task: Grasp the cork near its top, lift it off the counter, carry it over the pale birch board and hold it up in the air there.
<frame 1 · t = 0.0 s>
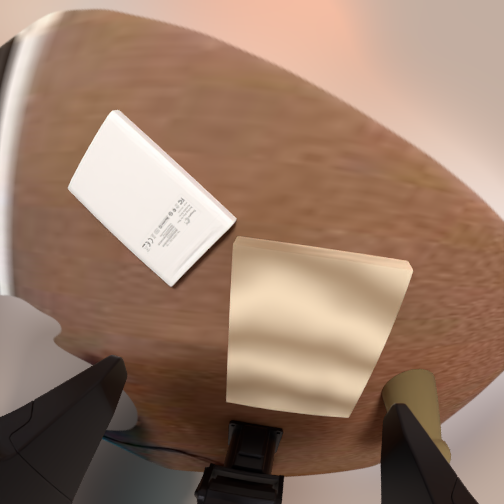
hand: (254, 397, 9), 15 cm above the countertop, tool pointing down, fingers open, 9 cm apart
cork: (408, 386, 27), on the countertop
birch board: (305, 341, 26), on the countertop
external hard drive: (148, 197, 24), on the countertop
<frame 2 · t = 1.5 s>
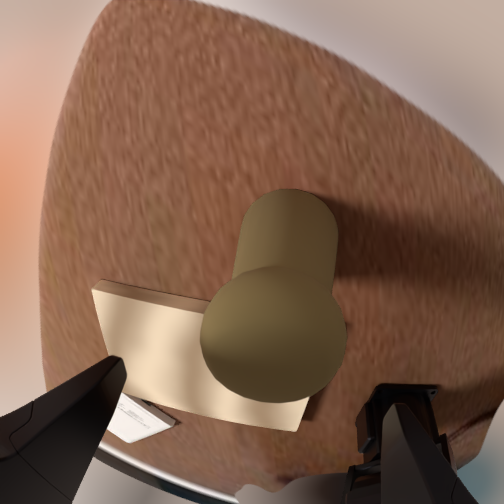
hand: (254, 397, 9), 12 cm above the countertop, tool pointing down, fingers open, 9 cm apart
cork: (289, 235, 19), on the countertop
birch board: (205, 361, 25), on the countertop
external hard drive: (127, 410, 33), on the countertop
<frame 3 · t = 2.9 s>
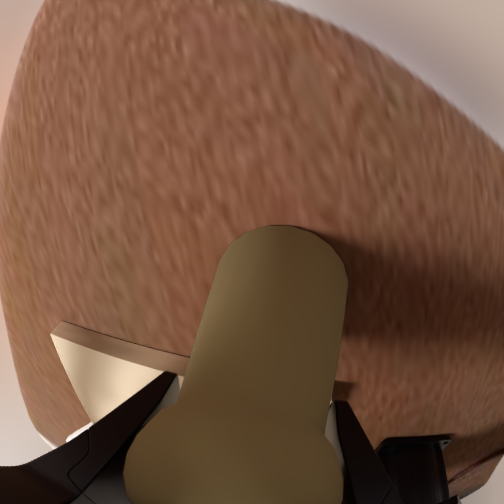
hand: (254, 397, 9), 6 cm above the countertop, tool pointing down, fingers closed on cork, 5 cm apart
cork: (281, 286, 14), on the countertop, touching gripper
birch board: (185, 414, 20), on the countertop
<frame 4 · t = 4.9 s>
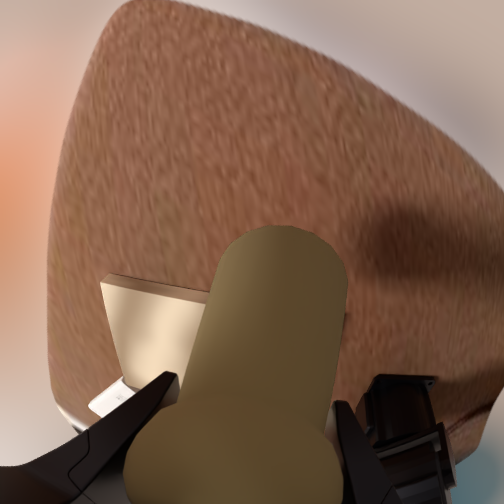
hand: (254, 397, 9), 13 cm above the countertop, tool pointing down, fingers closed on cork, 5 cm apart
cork: (281, 285, 14), point 7 cm above the countertop, touching gripper
birch board: (210, 352, 26), on the countertop
external hard drive: (132, 405, 35), on the countertop
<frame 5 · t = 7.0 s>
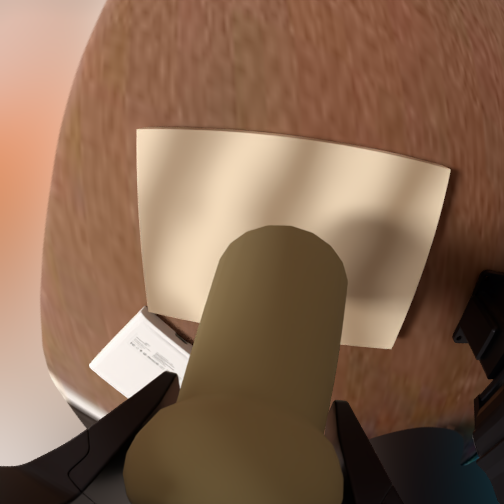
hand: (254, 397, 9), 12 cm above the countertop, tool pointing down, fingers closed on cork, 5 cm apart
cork: (281, 285, 14), point 6 cm above the countertop, touching gripper
birch board: (282, 240, 19), on the countertop
external hard drive: (149, 359, 28), on the countertop
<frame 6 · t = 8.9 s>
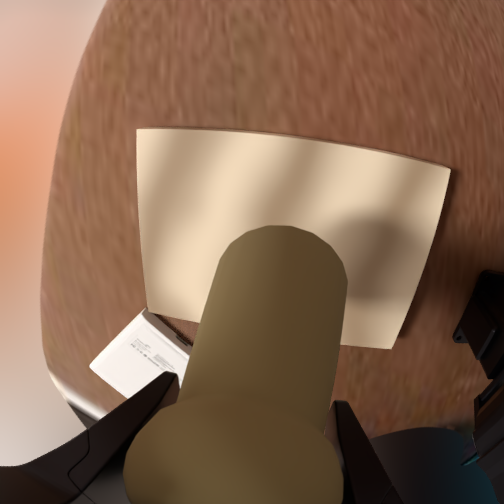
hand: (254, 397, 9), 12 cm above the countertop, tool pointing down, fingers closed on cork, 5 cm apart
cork: (281, 285, 14), point 6 cm above the countertop, touching gripper
birch board: (282, 240, 19), on the countertop
external hard drive: (150, 360, 28), on the countertop
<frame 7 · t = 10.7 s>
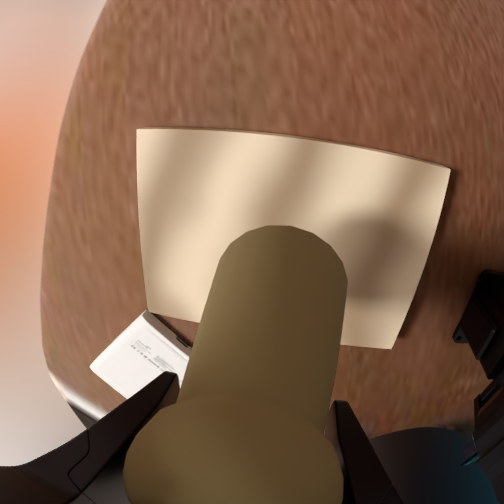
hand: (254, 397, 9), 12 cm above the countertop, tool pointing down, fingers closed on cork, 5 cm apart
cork: (281, 285, 14), point 6 cm above the countertop, touching gripper
birch board: (282, 240, 19), on the countertop
external hard drive: (150, 362, 28), on the countertop
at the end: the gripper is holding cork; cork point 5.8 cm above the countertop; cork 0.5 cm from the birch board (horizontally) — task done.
